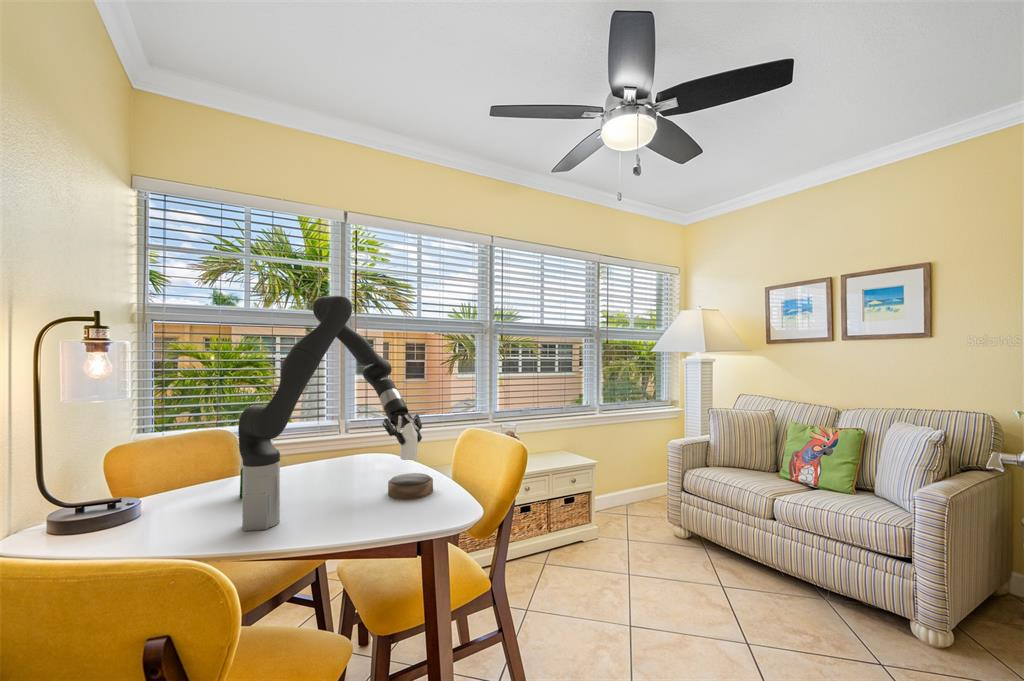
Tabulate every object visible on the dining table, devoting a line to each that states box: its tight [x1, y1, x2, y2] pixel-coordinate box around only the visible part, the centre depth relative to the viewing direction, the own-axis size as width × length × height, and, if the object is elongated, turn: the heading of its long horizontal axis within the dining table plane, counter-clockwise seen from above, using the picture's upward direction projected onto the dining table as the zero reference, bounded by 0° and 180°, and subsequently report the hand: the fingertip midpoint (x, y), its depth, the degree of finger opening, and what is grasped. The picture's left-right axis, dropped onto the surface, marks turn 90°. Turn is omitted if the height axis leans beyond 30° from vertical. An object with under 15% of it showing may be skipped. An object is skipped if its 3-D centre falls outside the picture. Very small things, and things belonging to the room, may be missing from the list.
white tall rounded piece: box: [399, 423, 419, 461], centre depth 157 cm, size 6×12×6 cm
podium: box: [387, 472, 434, 500], centre depth 156 cm, size 15×15×5 cm
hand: (411, 441), depth 156 cm, fingers closed on white tall rounded piece, 5 cm apart
